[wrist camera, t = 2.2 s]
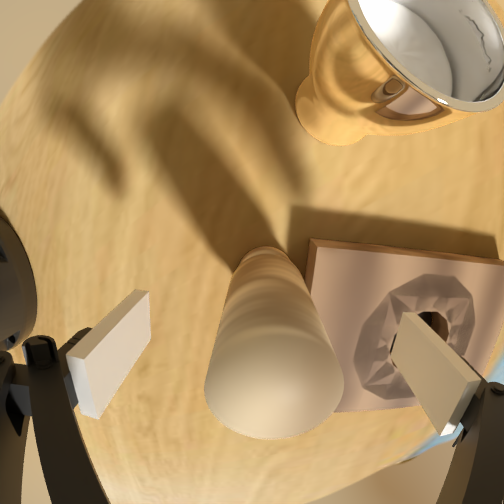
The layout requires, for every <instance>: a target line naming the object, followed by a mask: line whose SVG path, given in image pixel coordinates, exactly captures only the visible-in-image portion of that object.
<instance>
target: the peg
mask: <svg viewBox="0 0 504 504" xmlns="http://www.w3.org/2000/svg"><path fill="white" fill-rule="evenodd" d="M343 390H344V377H343V373H342V369H341V367H340V364H339V362H338V360H337V357H336V355H335V352H334V350H333V347H332V345H331V343H330V340H329V338H328V336H327V333H326V331H325V328H324V326H323V324H322V321H321V319H320V317H319V314H318V312H317V310H316V307H315V305H314V303H313V300H312V298H311V296H310V294H309V291H308V289H307V287H306V284H305V282H304V280H303V278H302V275H301V273H300V272H299V270H298V269H297V267H296V266H295V265H294V264H293V263H292V262H291V261H290V259H289V258H288V256H287V255H286V254H285V253H284V252H282V251H281V250H279V249H277V248H274V247H270V246H261V247H257V248H254V249H252V250H250V251H249V252H248V253H246V254H245V255H244V257H243V258H242V259H241V261H240V263H239V266H238V268H237V269H236V270H235V272H234V273H233V276H232V278H231V281H230V285H229V289H228V293H227V297H226V300H225V304H224V308H223V312H222V316H221V320H220V324H219V328H218V332H217V336H216V340H215V344H214V348H213V352H212V356H211V360H210V364H209V368H208V372H207V376H206V380H205V386H204V392H205V398H206V402H207V404H208V407H209V409H210V410H211V412H212V413H213V415H214V416H215V417H216V418H217V419H218V420H219V421H220V422H221V423H222V424H223V425H225V426H226V427H228V428H229V429H231V430H233V431H235V432H237V433H240V434H242V435H245V436H249V437H253V438H258V439H284V438H289V437H293V436H297V435H300V434H303V433H305V432H308V431H310V430H312V429H314V428H315V427H317V426H318V425H320V424H321V423H323V422H324V421H325V420H326V419H327V418H328V417H329V416H330V415H331V414H332V413H333V412H334V410H335V409H336V408H337V406H338V404H339V403H340V400H341V398H342V395H343Z"/></svg>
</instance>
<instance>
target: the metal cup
mask: <svg viewBox="0 0 504 504" xmlns="http://www.w3.org/2000/svg"><path fill="white" fill-rule="evenodd" d="M309 74H310V75H309V76H308V77H306V78H305V79H304V81H303V82H302V83H301V85H300V86H299V88H298V90H297V93H296V97H295V109H296V113H297V117H298V119H299V121H300V123H301V125H302V126H303V127H304V129H305V130H306V131H307V132H308V133H309V134H310V135H311V136H312V137H314V138H315V139H317V140H318V141H320V142H323V143H325V144H328V145H333V146H347V145H351V144H354V143H356V142H358V141H360V140H361V139H362V138H364V137H365V136H366V135H367V134H371V135H382V136H399V135H408V134H414V133H420V132H425V131H428V130H432V129H435V128H439V127H442V126H445V125H448V124H451V123H453V122H456V121H459V120H461V119H464V118H466V117H469V116H471V115H474V114H476V113H479V112H486V111H489V110H491V109H494V108H495V107H497V106H498V105H500V104H501V103H502V102H503V101H504V28H503V26H502V24H501V22H500V20H499V18H498V16H497V15H496V13H495V11H494V10H493V8H492V7H491V6H490V4H489V3H488V1H487V0H328V1H327V3H326V5H325V7H324V9H323V11H322V13H321V15H320V17H319V19H318V22H317V25H316V28H315V31H314V34H313V38H312V42H311V49H310V58H309Z"/></svg>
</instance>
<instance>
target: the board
mask: <svg viewBox="0 0 504 504" xmlns="http://www.w3.org/2000/svg"><path fill="white" fill-rule="evenodd" d="M304 282H305V284H306V287H307V289H308V291H309V294H310V296H311V298H312V300H313V303H314V305H315V307H316V310H317V312H318V314H319V317H320V319H321V321H322V324H323V326H324V328H325V331H326V333H327V336H328V338H329V340H330V343H331V345H332V347H333V350H334V352H335V355H336V357H337V360H338V362H339V364H340V367H341V369H342V373H343V377H344V390H343V395H342V398H341V400H340V403H339V404H338V406H337V408H336V409H335V410H334V412H357V411H372V410H384V409H394V408H403V407H411V406H419V405H421V404H420V403H419V401H418V399H417V398H416V396H415V395H414V393H413V391H412V390H411V388H410V387H409V385H408V384H407V382H406V380H405V379H404V377H403V376H402V374H401V373H400V371H399V370H398V368H397V367H396V365H395V363H394V362H393V360H392V359H391V357H390V355H391V354H390V352H392V349H393V346H394V342H395V339H396V336H397V332H398V328H399V325H400V321H401V317H402V314H403V312H415V313H416V314H417V315H418V316H419V317H420V318H421V319H422V320H423V321H424V322H425V323H426V324H427V325H428V326H429V327H431V329H432V330H433V331H434V332H436V333H437V334H438V335H439V336H440V337H441V338H442V339H443V340H444V341H445V342H446V343H447V344H448V345H449V346H450V347H451V348H452V349H453V350H454V351H455V352H456V353H457V354H458V355H460V356H461V357H463V358H465V359H466V360H467V362H468V363H469V364H470V365H471V366H472V367H473V368H474V370H476V371H477V372H478V373H479V374H480V375H481V376H482V375H483V373H484V371H485V368H486V366H487V364H488V361H489V359H490V356H491V354H492V352H493V349H494V346H495V344H496V341H497V339H498V336H499V333H500V330H501V327H502V324H503V321H504V261H502V260H500V259H493V258H485V257H477V256H470V255H461V254H453V253H445V252H436V251H428V250H419V249H410V248H401V247H392V246H383V245H374V244H364V243H355V242H345V241H335V240H325V239H315V238H310V242H309V250H308V257H307V265H306V272H305V279H304ZM431 312H432V314H431ZM432 317H433V321H432ZM431 323H432V325H431Z"/></svg>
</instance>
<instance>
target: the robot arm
mask: <svg viewBox="0 0 504 504" xmlns="http://www.w3.org/2000/svg"><path fill="white" fill-rule="evenodd" d="M36 314H37V296H36V288H35V283H34V278H33V274H32V270H31V267H30V264H29V261H28V258H27V256H26V253H25V251H24V249H23V247H22V245H21V243H20V241H19V239H18V237H17V236H16V234H15V232H14V231H13V230H12V228H11V227H10V226H9V224H8V223H7V222H6V221H5V220H4V219H3V218H1V217H0V504H21V489H22V474H23V463H24V454H25V446H26V439H27V432H28V425H29V420H30V416H32V419H33V425H34V432H35V437H36V443H37V448H38V452H39V457H40V462H41V466H42V470H43V474H44V478H45V482H46V485H47V489H48V492H49V496H50V499H51V502H52V504H111V503H110V501H109V499H108V497H107V495H106V493H105V491H104V489H103V486H102V484H101V482H100V480H99V478H98V475H97V473H96V471H95V468H94V466H93V463H92V461H91V458H90V456H89V453H88V451H87V448H86V445H85V443H84V440H83V437H82V434H81V431H80V429H79V426H78V423H77V419H76V416H75V413H74V410H73V409H74V408H75V406H76V405H77V404H79V408H80V411H81V414H83V415H86V416H89V417H92V418H95V419H98V420H99V418H100V416H101V415H102V413H103V412H104V410H105V408H106V407H107V405H108V404H109V402H110V401H111V399H112V398H113V396H114V394H115V393H116V391H117V390H118V388H119V387H120V385H121V384H122V382H123V381H124V379H125V377H126V376H127V374H128V373H129V371H130V370H131V368H132V367H133V365H134V364H135V362H136V361H137V359H138V358H139V356H140V355H141V353H142V352H143V350H144V349H145V347H146V346H147V344H148V343H149V341H150V340H151V331H150V309H149V291H143V290H136V289H135V290H134V291H133V292H132V293H131V294H129V295H128V296H127V297H126V298H125V299H124V300H123V301H122V302H121V303H120V304H118V305H117V306H116V307H115V308H114V309H113V310H112V311H111V312H110V313H109V314H108V315H107V316H105V317H104V318H103V319H102V320H101V321H100V322H99V323H98V324H97V325H96V326H95V327H94V328H89V327H87V328H85V329H83V330H81V331H78V332H77V333H76V334H75V335H74V336H73V337H72V338H71V339H69V340H68V341H67V343H65V344H64V345H63V346H62V347H61V348H60V349H59V350H57V347H56V343H55V341H54V339H53V338H51V337H49V336H45V335H37V336H33V337H30V338H28V339H26V338H27V337H28V336H29V335H30V333H31V332H32V330H33V327H34V324H35V321H36ZM25 339H26V340H25ZM23 340H25V341H24V342H23V344H22V350H23V353H24V357H25V360H26V364H27V365H23V364H15V363H14V361H13V358H12V356H11V354H10V353H9V352H7V350H10V349H13V348H14V347H16V346H17V345H18V344H20V343H21V342H22V341H23ZM390 357H391V359H392V360H393V362H394V363H395V365H396V367H397V368H398V370H399V371H400V373H401V374H402V376H403V377H404V379H405V380H406V382H407V384H408V385H409V387H410V388H411V390H412V391H413V393H414V395H415V396H416V398H417V399H418V401H419V403H420V404H421V406H422V407H423V409H424V411H425V412H426V414H427V416H428V417H429V419H430V420H431V422H432V424H433V425H434V427H435V429H436V430H437V432H438V434H439V435H440V436H442V435H446V434H451V433H454V431H455V430H456V428H457V426H458V424H459V423H460V422H461V424H462V425H463V427H464V428H463V429H462V431H461V433H460V434H459V436H458V438H457V439H456V441H455V442H454V444H453V445H452V447H454V446H455V445H456V444H457V446H456V449H455V452H454V456H453V459H452V462H451V465H450V468H449V471H448V474H447V477H446V479H445V482H444V485H443V487H442V490H441V493H440V495H439V498H438V500H437V502H436V504H502V500H503V504H504V385H503V384H500V383H497V382H489V383H488V382H487V381H486V380H485V379H484V378H483V377H482V376H481V375H480V374H479V373H478V372H477V371H476V370H474V368H473V367H472V366H471V365H470V364H469V363H468V362H467V360H466V359H465V358H463V357H461V356H460V355H458V354H457V353H456V352H455V351H454V350H453V349H452V348H451V347H450V346H449V345H448V344H447V343H446V342H445V341H444V340H443V339H442V338H441V337H440V336H439V335H438V334H437V333H436V332H434V331H433V330H432V329H431V328H430V327H429V326H428V325H427V324H426V323H425V322H424V321H423V320H422V319H421V318H420V317H419V316H418V315H417V314H416V313H415V312H403V314H402V317H401V321H400V325H399V328H398V332H397V336H396V339H395V342H394V346H393V349H392V352H391V355H390Z"/></svg>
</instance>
